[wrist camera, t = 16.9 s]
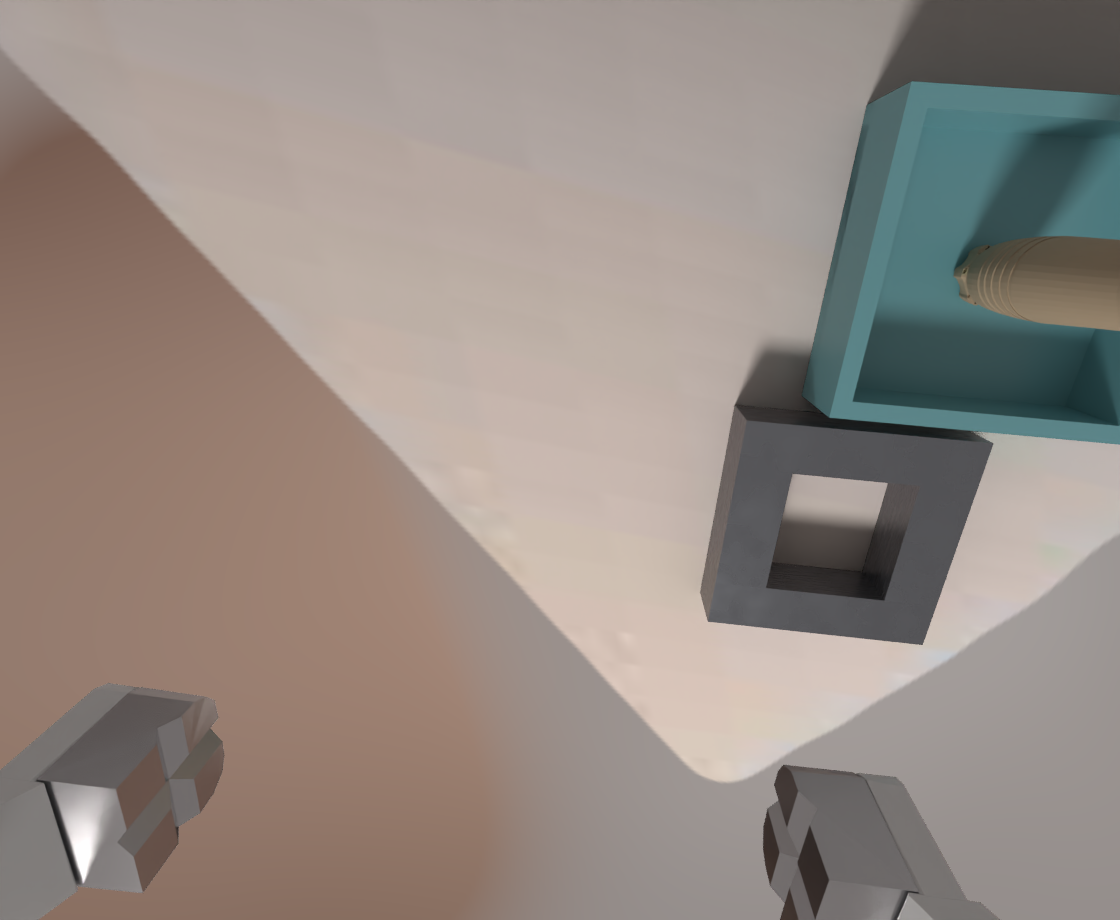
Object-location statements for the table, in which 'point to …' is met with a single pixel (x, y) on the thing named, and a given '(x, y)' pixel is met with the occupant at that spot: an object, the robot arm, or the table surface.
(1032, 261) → the handle
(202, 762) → the robot arm
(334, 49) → the table surface
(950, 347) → the bin
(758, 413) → the socket block
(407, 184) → the table surface
